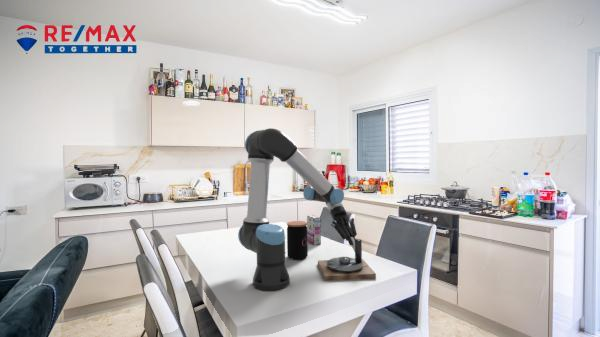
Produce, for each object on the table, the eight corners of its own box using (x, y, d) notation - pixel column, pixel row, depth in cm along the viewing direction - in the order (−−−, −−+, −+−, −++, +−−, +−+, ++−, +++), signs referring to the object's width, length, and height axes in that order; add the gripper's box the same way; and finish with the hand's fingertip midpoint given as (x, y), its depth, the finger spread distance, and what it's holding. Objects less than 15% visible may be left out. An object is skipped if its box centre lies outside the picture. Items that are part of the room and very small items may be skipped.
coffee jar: (305, 260, 149) (305, 225, 149) (285, 259, 151) (284, 224, 151) (309, 254, 160) (308, 221, 159) (290, 253, 162) (289, 220, 162)
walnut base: (324, 280, 123) (324, 275, 123) (317, 264, 143) (317, 260, 143) (375, 278, 125) (375, 273, 125) (362, 262, 145) (362, 258, 145)
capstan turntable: (332, 273, 125) (331, 246, 125) (323, 261, 141) (323, 237, 140) (368, 271, 127) (368, 244, 127) (355, 259, 143) (355, 235, 143)
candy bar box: (321, 244, 179) (321, 217, 179) (313, 245, 177) (313, 218, 177) (314, 240, 189) (313, 214, 189) (306, 240, 188) (306, 215, 187)
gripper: (344, 212, 157) (364, 252, 143) (323, 215, 152) (342, 256, 138) (349, 203, 152) (371, 244, 138) (328, 206, 147) (348, 248, 133)
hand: (356, 250), depth 138 cm, fingers closed
